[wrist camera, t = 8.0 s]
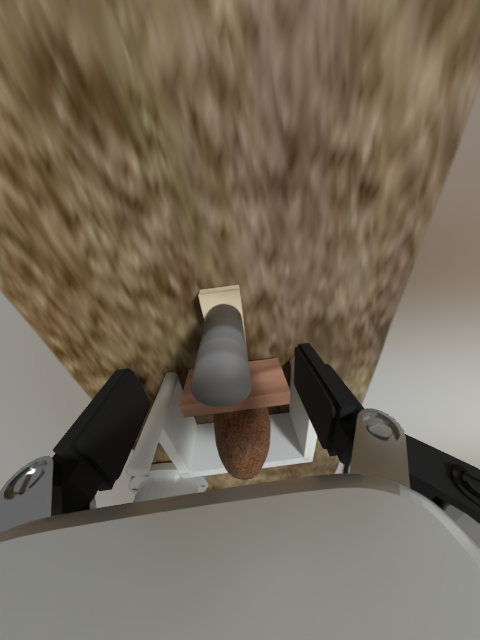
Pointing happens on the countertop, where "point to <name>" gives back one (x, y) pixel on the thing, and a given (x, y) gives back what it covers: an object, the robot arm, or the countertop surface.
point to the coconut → (243, 440)
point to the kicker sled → (229, 363)
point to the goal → (199, 440)
